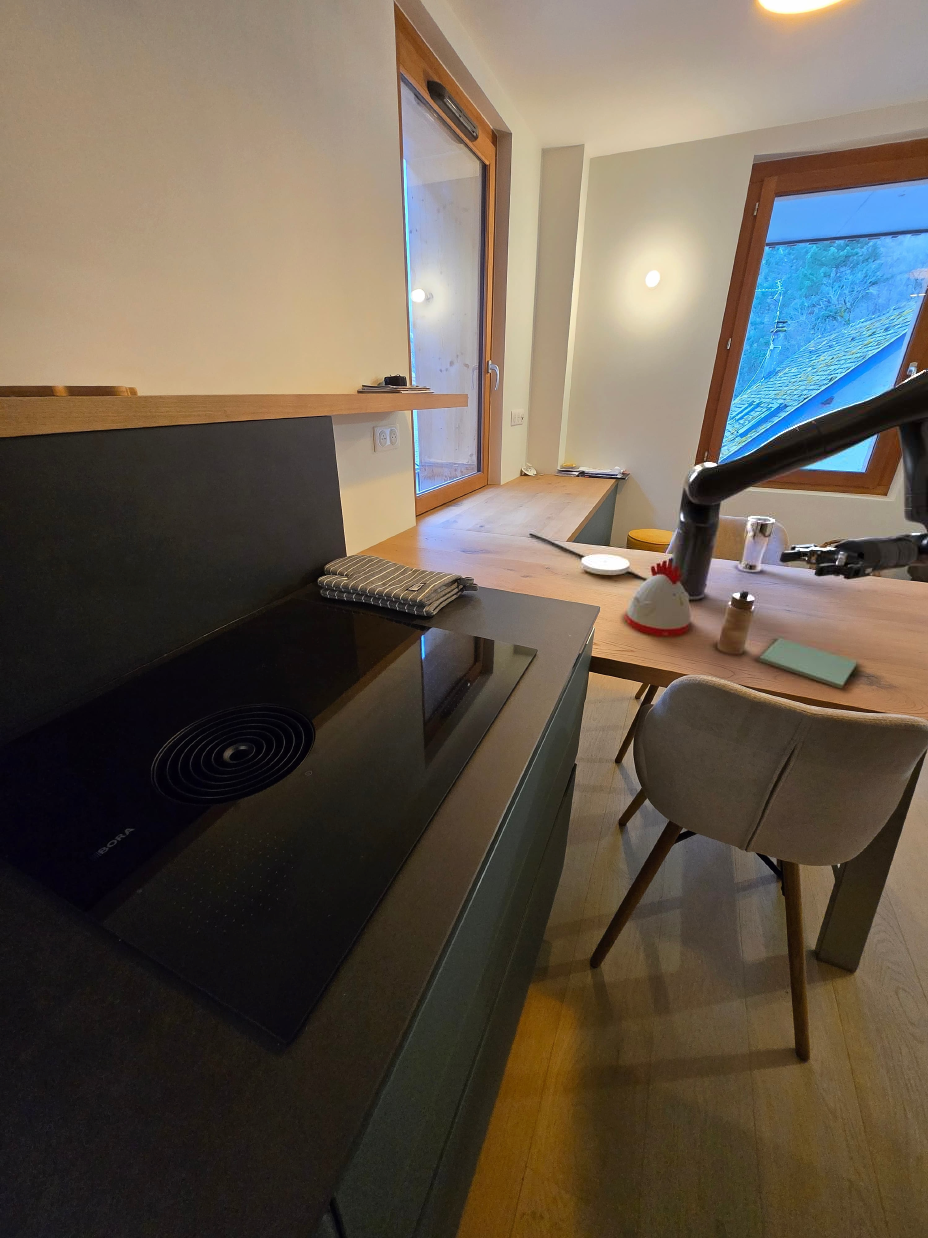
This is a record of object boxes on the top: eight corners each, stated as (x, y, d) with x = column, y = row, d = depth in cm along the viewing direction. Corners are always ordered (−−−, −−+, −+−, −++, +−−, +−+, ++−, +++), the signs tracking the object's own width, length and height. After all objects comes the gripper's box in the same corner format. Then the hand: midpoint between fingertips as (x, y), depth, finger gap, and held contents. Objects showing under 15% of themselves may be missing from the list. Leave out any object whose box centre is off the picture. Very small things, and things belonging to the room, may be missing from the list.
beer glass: (731, 565, 150) (742, 516, 143) (752, 564, 150) (765, 515, 144) (744, 573, 144) (757, 522, 137) (767, 572, 144) (781, 522, 138)
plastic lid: (579, 561, 155) (579, 553, 154) (624, 562, 153) (625, 555, 152) (582, 577, 142) (583, 568, 141) (632, 579, 141) (633, 570, 140)
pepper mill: (713, 648, 104) (727, 590, 98) (722, 641, 107) (737, 584, 101) (737, 656, 101) (753, 597, 95) (746, 648, 104) (762, 590, 98)
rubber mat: (758, 660, 100) (759, 657, 99) (778, 640, 107) (779, 637, 107) (841, 688, 90) (842, 685, 90) (856, 664, 98) (857, 661, 97)
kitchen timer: (658, 640, 108) (669, 576, 101) (613, 616, 119) (621, 557, 112) (701, 627, 113) (715, 565, 107) (655, 605, 124) (665, 548, 118)
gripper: (838, 529, 106) (775, 536, 103) (905, 549, 94) (836, 557, 91) (828, 562, 110) (766, 569, 106) (891, 585, 97) (824, 594, 94)
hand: (798, 563), depth 99 cm, fingers open, 8 cm apart
